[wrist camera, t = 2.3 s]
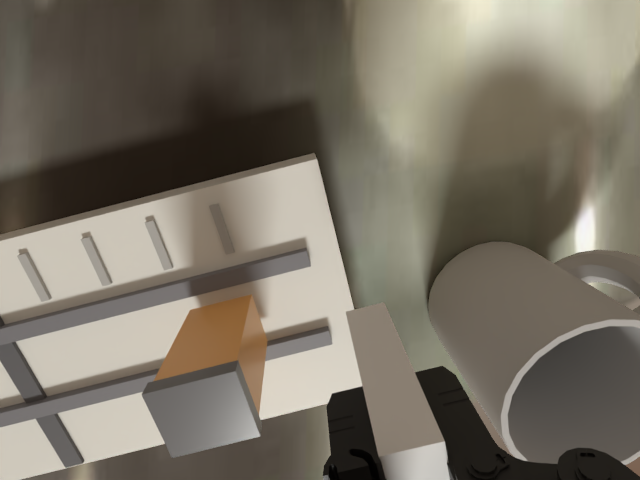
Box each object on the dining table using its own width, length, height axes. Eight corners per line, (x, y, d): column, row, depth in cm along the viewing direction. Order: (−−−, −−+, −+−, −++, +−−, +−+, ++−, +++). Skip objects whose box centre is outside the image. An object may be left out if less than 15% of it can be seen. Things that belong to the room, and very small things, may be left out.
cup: (402, 284, 23) (466, 390, 14) (559, 183, 21) (734, 233, 13) (460, 369, 25) (547, 506, 16) (607, 282, 23) (785, 381, 15)
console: (-10, 457, 25) (-50, 503, 22) (-138, 270, 20) (-209, 296, 18) (366, 363, 24) (376, 398, 21) (314, 152, 20) (317, 160, 17)
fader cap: (207, 357, 19) (172, 458, 14) (187, 308, 19) (141, 394, 13) (269, 341, 19) (260, 436, 14) (253, 291, 19) (235, 371, 13)
